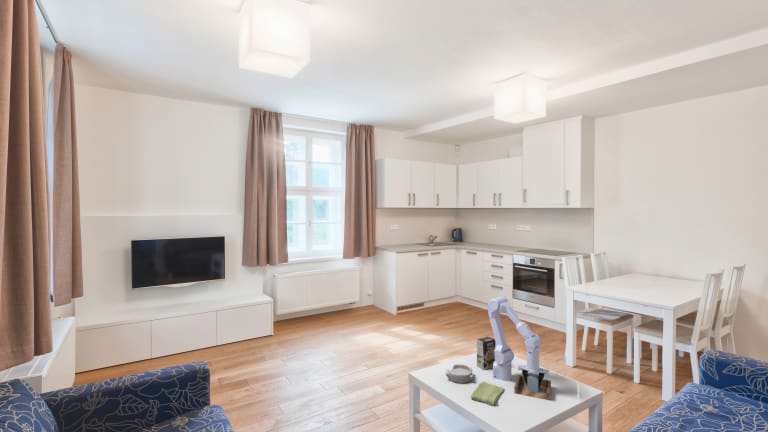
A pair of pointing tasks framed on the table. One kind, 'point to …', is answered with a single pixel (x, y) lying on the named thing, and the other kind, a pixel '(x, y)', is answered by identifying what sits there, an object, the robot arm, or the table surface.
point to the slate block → (532, 382)
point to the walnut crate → (522, 390)
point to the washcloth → (487, 393)
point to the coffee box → (485, 352)
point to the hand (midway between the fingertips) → (533, 386)
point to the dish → (460, 373)
